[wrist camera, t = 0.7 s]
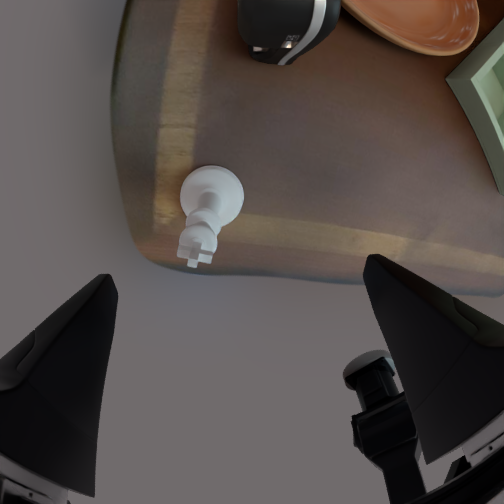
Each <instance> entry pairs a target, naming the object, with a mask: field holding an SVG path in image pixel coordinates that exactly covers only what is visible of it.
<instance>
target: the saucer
mask: <svg viewBox="0 0 504 504" xmlns="http://www.w3.org/2000/svg"><path fill="white" fill-rule="evenodd" d="M341 6H342V7H343V8H344V9H345V10H346V11H348V12H349V13H350V14H351V15H352V16H353V17H355V18H356V19H357V20H358V21H360V22H361V23H362V24H364V25H365V26H366V27H368V28H369V29H370V30H372V31H373V32H375V33H377V34H378V35H380V36H381V37H383V38H385V39H387V40H388V41H390V42H392V43H394V44H396V45H398V46H401V47H403V48H405V49H408V50H411V51H414V52H417V53H421V54H427V55H436V56H448V55H453V54H457V53H460V52H462V51H463V50H465V49H466V48H467V47H469V46H470V44H471V43H472V42H473V41H474V39H475V37H476V34H477V31H478V27H479V10H478V5H477V1H476V0H341Z"/></svg>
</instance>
